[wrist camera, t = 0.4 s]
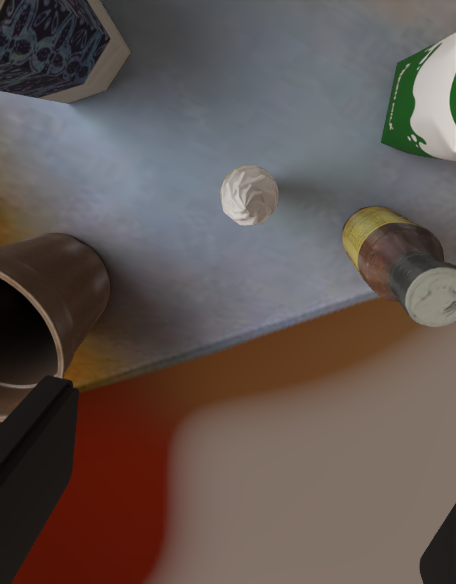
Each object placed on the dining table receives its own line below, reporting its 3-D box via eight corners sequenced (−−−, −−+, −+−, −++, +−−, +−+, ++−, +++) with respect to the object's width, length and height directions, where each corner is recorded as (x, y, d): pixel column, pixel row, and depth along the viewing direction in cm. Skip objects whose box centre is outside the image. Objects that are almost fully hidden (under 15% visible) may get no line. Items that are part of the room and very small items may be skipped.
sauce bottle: (406, 246, 42) (510, 331, 24) (350, 268, 44) (408, 364, 26) (387, 190, 41) (484, 237, 22) (329, 216, 42) (375, 279, 24)
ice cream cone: (286, 183, 41) (295, 208, 27) (252, 217, 43) (245, 257, 29) (252, 148, 40) (243, 156, 26) (219, 185, 42) (194, 210, 28)
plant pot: (46, 355, 53) (-42, 442, 38) (-27, 247, 48) (-161, 299, 33) (150, 314, 49) (98, 393, 34) (82, 193, 44) (-15, 223, 29)
